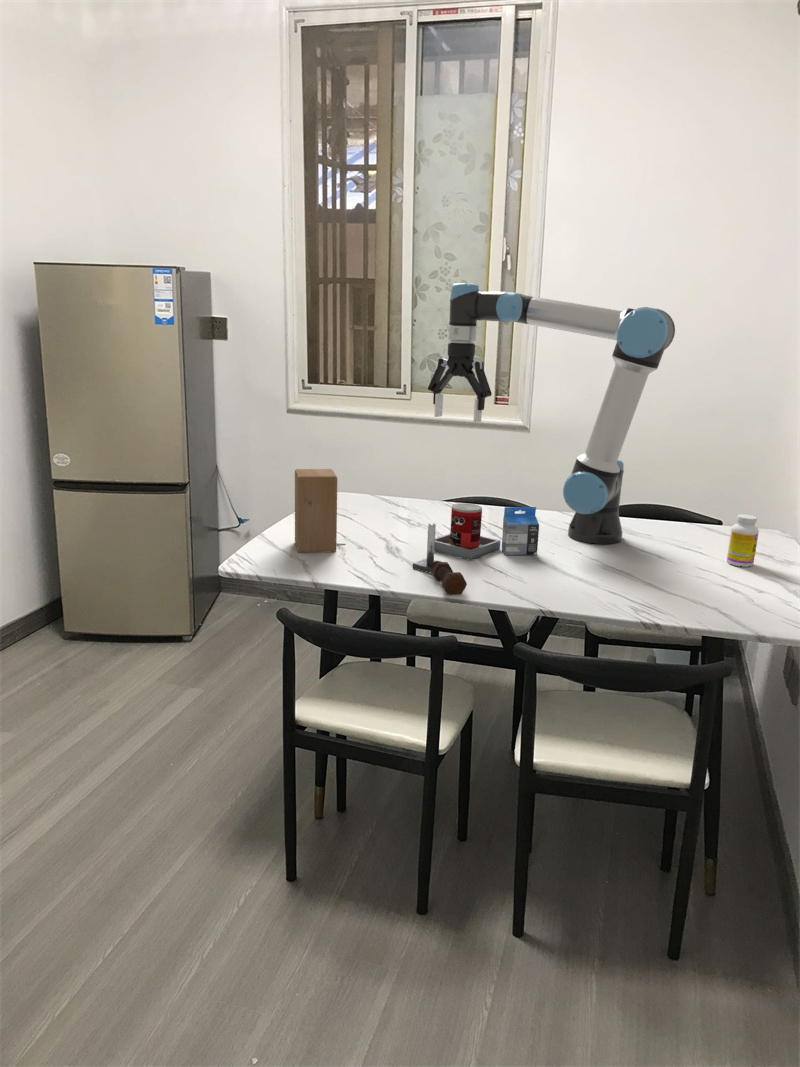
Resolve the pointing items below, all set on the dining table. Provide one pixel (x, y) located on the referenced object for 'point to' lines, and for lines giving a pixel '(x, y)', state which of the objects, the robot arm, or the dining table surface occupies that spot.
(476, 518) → the canned food
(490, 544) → the tray
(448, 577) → the brown hex dumbbell
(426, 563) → the stand
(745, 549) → the supplement bottle
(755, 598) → the dining table surface
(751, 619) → the dining table surface
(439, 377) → the robot arm
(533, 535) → the label tape box
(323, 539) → the wooden block
